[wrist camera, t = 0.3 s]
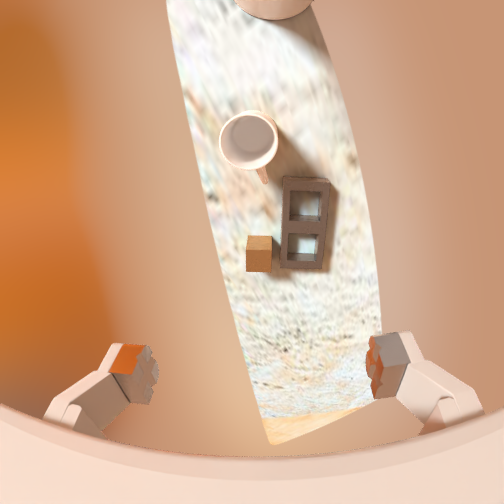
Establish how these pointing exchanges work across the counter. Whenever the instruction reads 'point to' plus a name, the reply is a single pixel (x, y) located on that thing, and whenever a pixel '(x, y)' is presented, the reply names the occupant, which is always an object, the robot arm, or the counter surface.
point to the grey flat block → (304, 222)
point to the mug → (249, 142)
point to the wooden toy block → (259, 254)
